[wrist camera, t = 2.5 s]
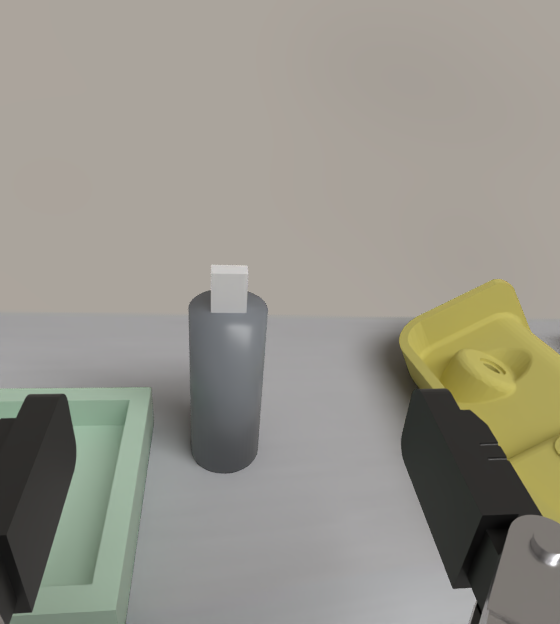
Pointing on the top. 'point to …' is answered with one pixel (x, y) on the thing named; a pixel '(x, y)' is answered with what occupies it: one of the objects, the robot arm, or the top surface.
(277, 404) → the top surface
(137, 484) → the tray
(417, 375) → the plastic component
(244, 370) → the grey bottle white cap
